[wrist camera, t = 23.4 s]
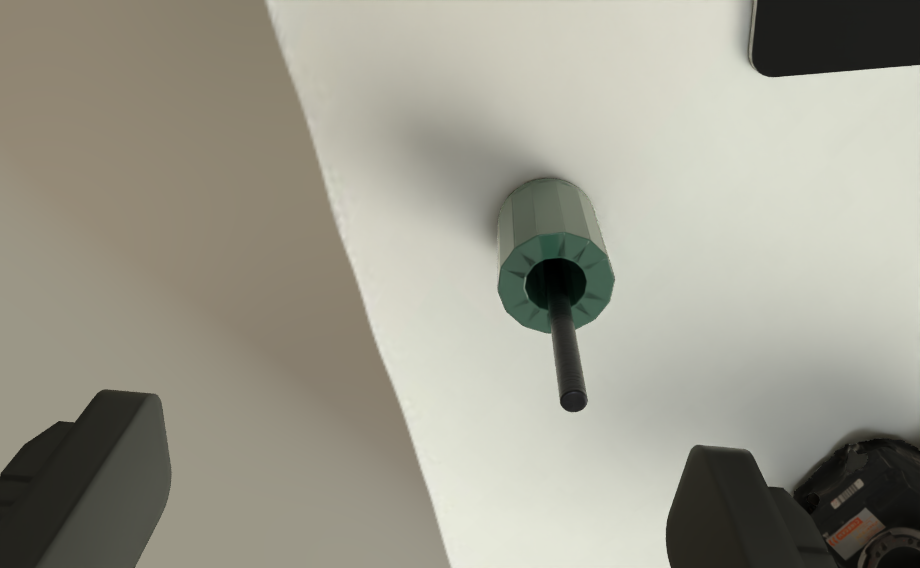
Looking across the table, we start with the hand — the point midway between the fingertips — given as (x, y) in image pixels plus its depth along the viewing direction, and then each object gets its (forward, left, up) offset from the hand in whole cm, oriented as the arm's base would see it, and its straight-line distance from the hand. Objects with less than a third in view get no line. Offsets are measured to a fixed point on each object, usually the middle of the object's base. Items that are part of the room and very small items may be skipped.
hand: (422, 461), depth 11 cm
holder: (+5, -8, -28) cm, 30 cm away
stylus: (+5, -8, -28) cm, 29 cm away
